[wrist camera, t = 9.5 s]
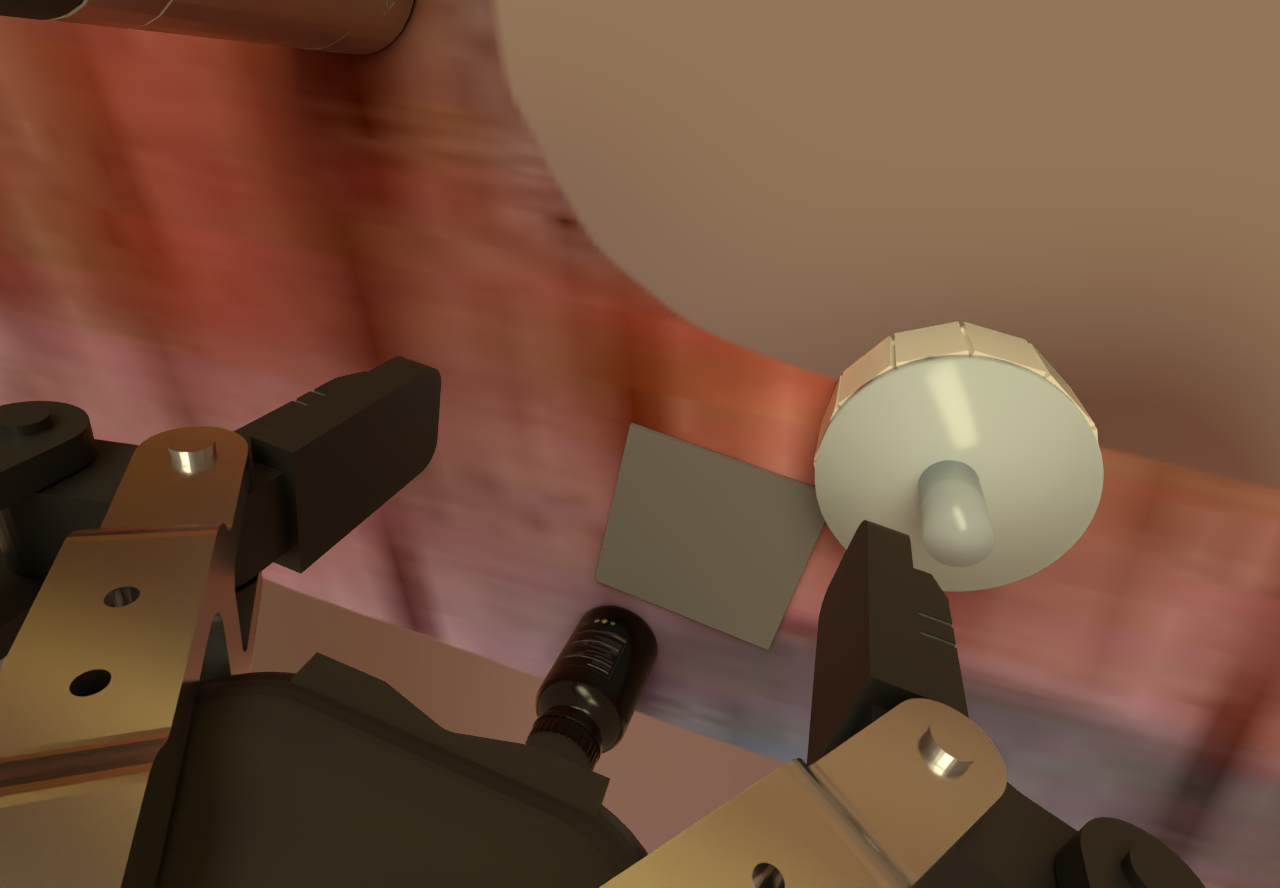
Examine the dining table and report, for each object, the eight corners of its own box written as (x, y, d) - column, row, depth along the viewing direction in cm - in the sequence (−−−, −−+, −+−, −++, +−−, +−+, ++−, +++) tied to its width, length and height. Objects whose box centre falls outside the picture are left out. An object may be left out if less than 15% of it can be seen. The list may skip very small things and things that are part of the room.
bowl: (795, 487, 42) (785, 529, 38) (872, 294, 36) (871, 319, 32) (1002, 560, 40) (1016, 614, 36) (1125, 369, 33) (1159, 406, 29)
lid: (784, 529, 38) (769, 593, 33) (869, 319, 32) (866, 359, 26) (1015, 613, 36) (1037, 696, 31) (1158, 406, 29) (1216, 467, 24)
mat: (596, 576, 51) (594, 579, 51) (631, 422, 44) (629, 425, 44) (769, 646, 49) (768, 650, 48) (836, 494, 42) (835, 497, 41)
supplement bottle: (663, 674, 53) (611, 807, 43) (586, 662, 56) (520, 785, 45) (655, 607, 50) (598, 731, 40) (574, 596, 53) (500, 712, 43)
